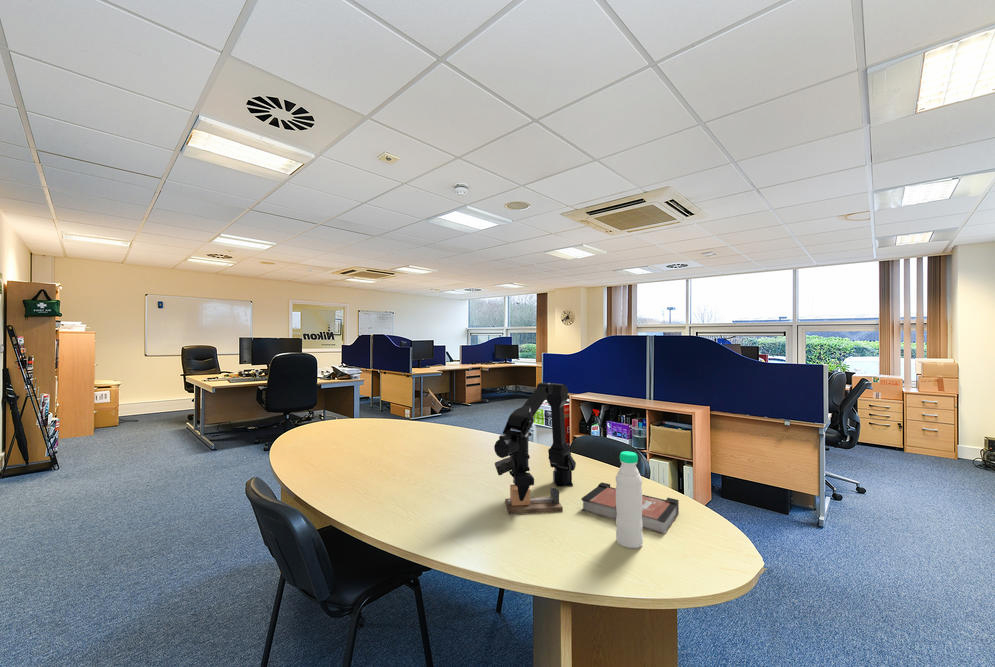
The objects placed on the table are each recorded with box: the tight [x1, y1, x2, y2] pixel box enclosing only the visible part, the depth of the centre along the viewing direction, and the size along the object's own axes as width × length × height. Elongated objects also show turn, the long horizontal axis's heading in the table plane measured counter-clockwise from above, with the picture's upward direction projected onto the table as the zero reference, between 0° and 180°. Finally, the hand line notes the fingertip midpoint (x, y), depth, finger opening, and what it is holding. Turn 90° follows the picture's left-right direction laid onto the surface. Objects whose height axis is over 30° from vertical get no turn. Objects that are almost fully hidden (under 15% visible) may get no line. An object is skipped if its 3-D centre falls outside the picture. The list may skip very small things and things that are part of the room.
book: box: [581, 482, 680, 535], centre depth 129 cm, size 26×18×5 cm
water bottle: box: [615, 450, 644, 549], centre depth 110 cm, size 7×7×25 cm
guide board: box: [504, 496, 564, 515], centre depth 133 cm, size 18×9×2 cm, turn 96°
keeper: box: [509, 484, 531, 506], centre depth 132 cm, size 6×5×5 cm
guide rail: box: [508, 487, 560, 505], centre depth 133 cm, size 17×4×4 cm, turn 96°
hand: (520, 497), depth 132 cm, fingers closed on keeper, 5 cm apart
